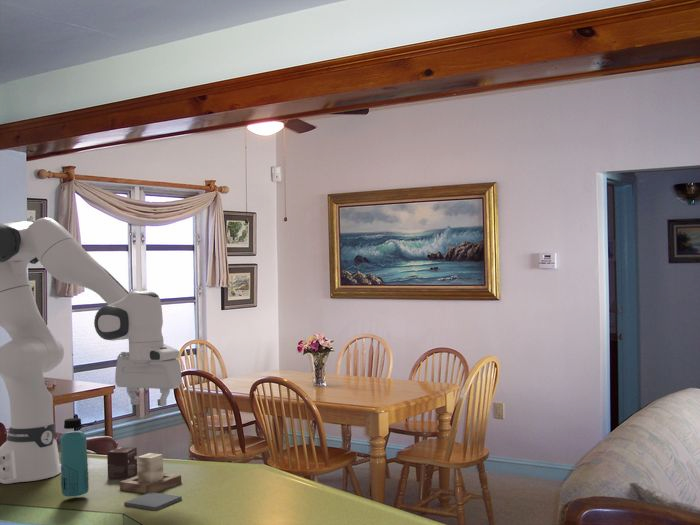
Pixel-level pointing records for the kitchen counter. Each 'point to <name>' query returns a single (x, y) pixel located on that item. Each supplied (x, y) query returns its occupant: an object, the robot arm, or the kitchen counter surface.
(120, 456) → the box
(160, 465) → the peg block
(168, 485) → the pocket holder
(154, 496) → the mat
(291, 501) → the kitchen counter surface
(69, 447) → the beverage bottle
